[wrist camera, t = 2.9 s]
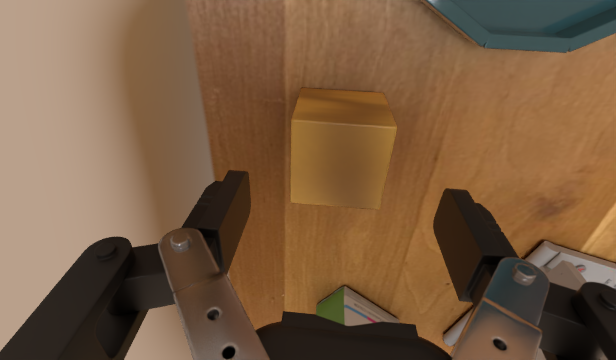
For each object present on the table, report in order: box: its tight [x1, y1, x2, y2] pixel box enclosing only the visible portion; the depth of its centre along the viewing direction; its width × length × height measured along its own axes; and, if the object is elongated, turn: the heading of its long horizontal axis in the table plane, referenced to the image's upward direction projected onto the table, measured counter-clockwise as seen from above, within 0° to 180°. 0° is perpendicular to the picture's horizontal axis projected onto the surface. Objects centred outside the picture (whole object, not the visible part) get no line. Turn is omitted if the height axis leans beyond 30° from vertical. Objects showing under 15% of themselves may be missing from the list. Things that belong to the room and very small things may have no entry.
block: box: [290, 88, 397, 210], centre depth 17 cm, size 5×5×5 cm
